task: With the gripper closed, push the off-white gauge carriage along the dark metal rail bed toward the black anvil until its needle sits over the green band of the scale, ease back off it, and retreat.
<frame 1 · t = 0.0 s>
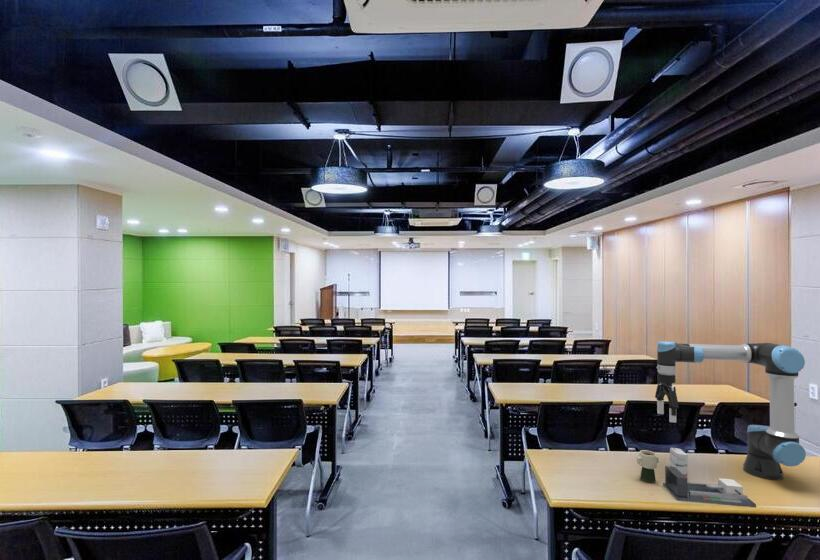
hand: (666, 417, 203), 28 cm above the table, fingers open, 13 cm apart
gauge carriage: (724, 489, 181), point 4 cm above the table, slide at 0.0 cm
ink box: (678, 476, 204), on the table
character mug: (647, 481, 198), on the table
gauge bed: (707, 495, 184), on the table
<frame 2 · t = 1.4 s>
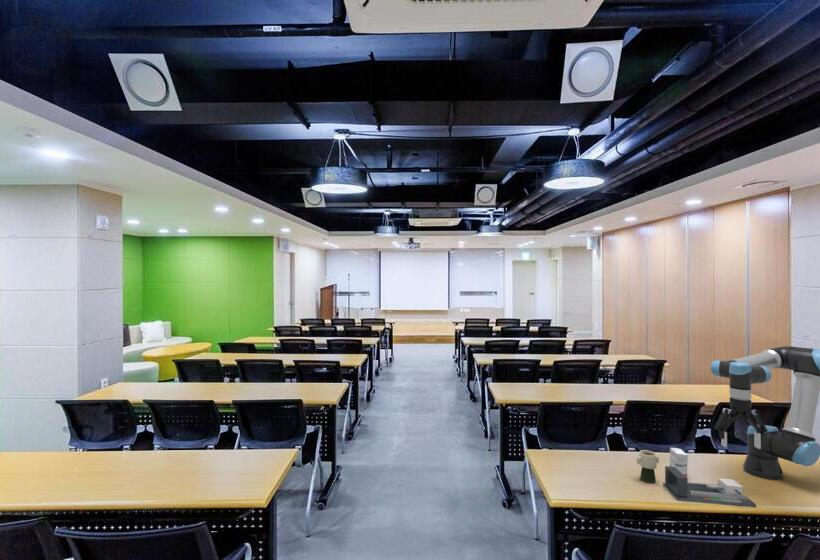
hand: (740, 447, 184), 21 cm above the table, fingers open, 13 cm apart
nothing on the table moved.
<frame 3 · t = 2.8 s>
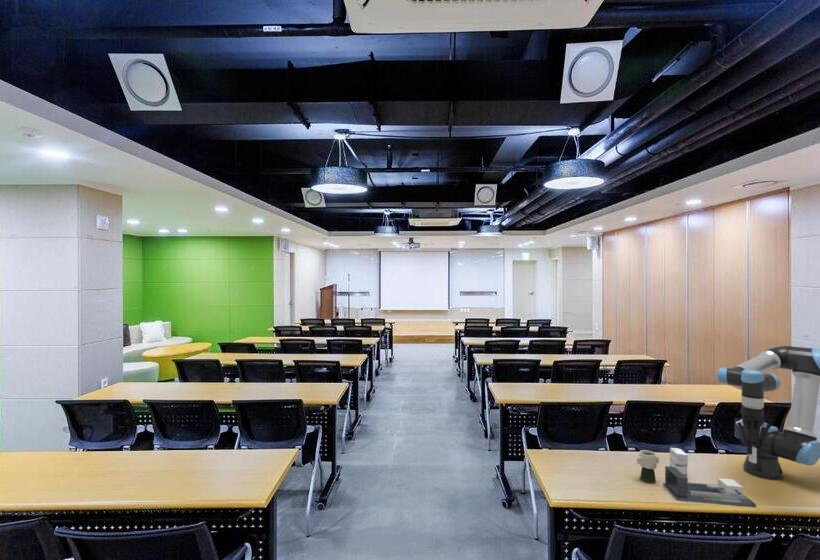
hand: (752, 461, 181), 16 cm above the table, fingers closed
nothing on the table moved.
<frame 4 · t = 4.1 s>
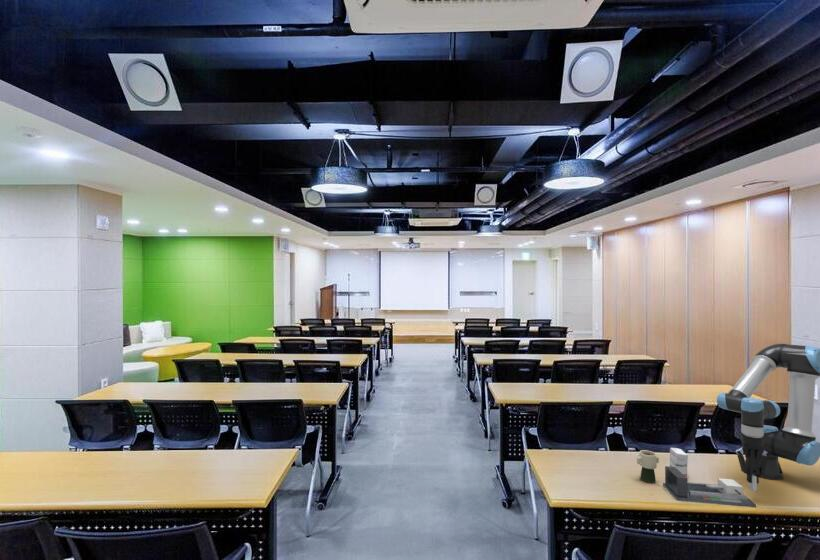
hand: (752, 490, 181), 4 cm above the table, fingers closed
nothing on the table moved.
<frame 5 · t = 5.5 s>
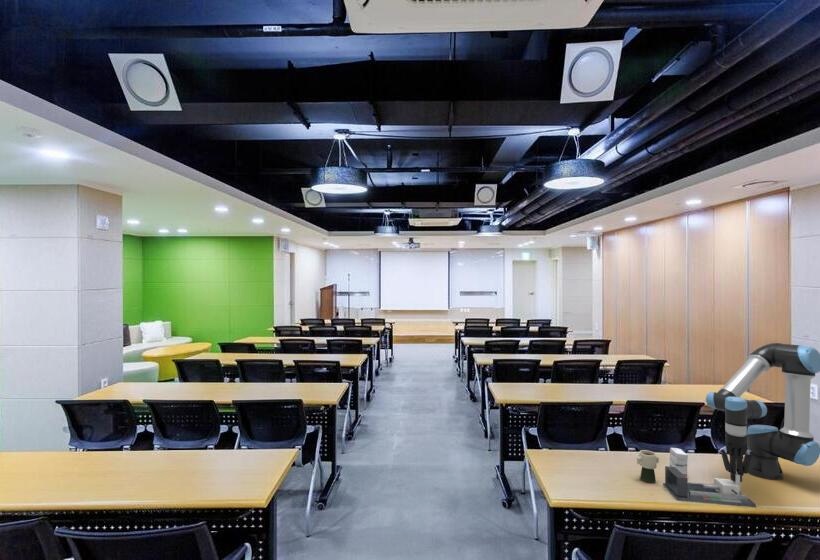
hand: (736, 488, 182), 4 cm above the table, fingers closed
gauge carriage: (721, 489, 181), point 4 cm above the table, slide at 1.3 cm, touching gripper
everything else where it was.
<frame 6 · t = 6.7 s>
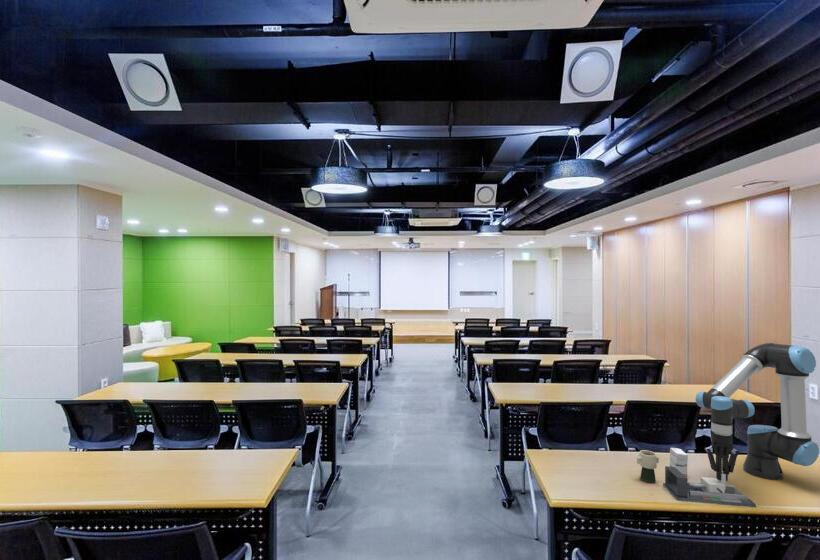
hand: (722, 487, 183), 4 cm above the table, fingers closed
gauge carriage: (707, 488, 182), point 4 cm above the table, slide at 6.9 cm, touching gripper
everything else where it was.
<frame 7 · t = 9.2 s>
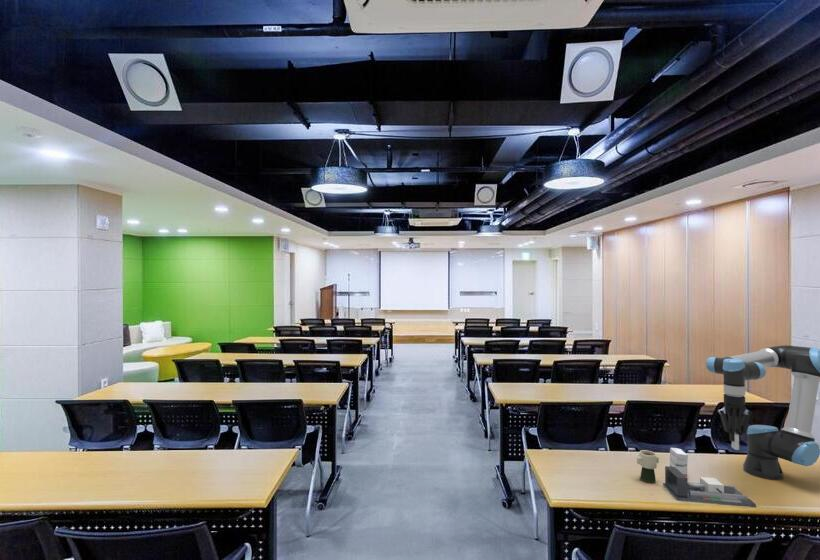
hand: (735, 448, 185), 20 cm above the table, fingers closed
gauge carriage: (706, 488, 182), point 4 cm above the table, slide at 7.2 cm
everything else where it was.
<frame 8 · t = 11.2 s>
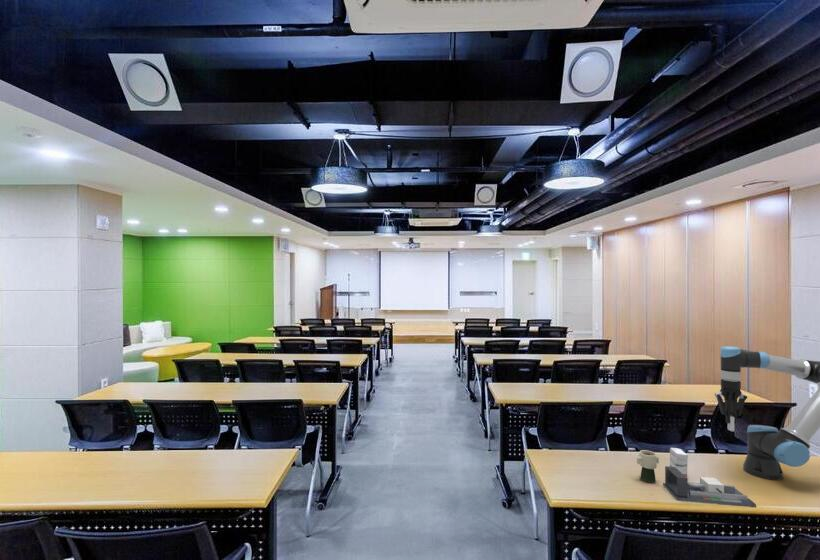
hand: (730, 430, 197), 24 cm above the table, fingers closed
nothing on the table moved.
at the end: gauge carriage slide at 7.2 cm; gauge carriage touching nothing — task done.
